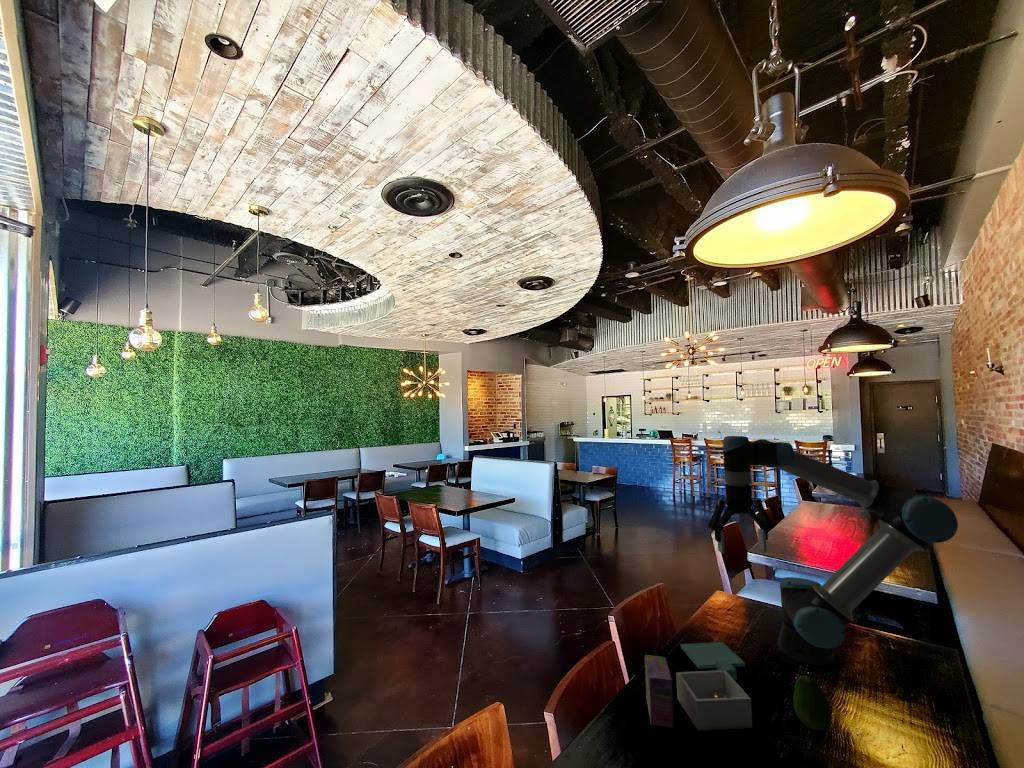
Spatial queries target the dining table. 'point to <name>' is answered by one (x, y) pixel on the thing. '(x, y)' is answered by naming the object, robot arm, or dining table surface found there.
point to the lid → (713, 657)
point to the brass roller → (720, 695)
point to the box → (659, 691)
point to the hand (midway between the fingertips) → (742, 551)
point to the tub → (713, 700)
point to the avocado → (811, 704)
